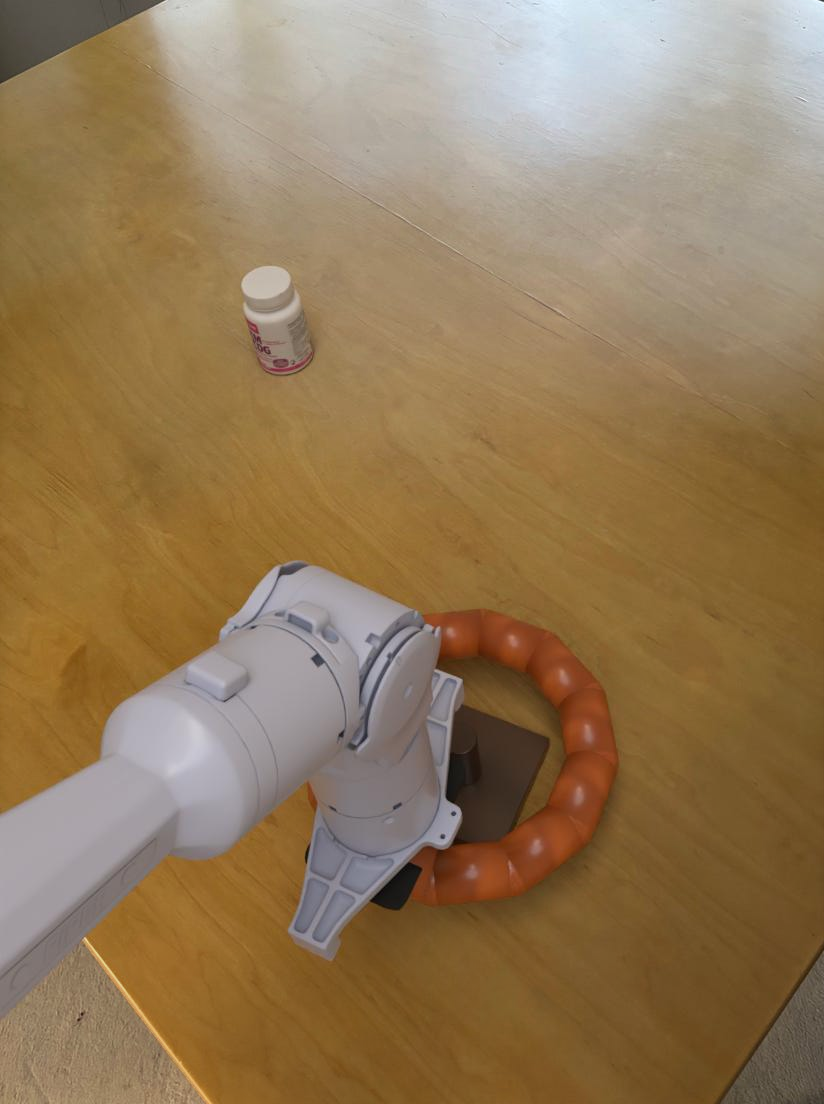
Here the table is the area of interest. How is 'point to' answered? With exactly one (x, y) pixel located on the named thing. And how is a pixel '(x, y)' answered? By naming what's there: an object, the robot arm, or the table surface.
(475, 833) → the square peg base
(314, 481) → the table surface
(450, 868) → the ring
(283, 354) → the pill bottle
